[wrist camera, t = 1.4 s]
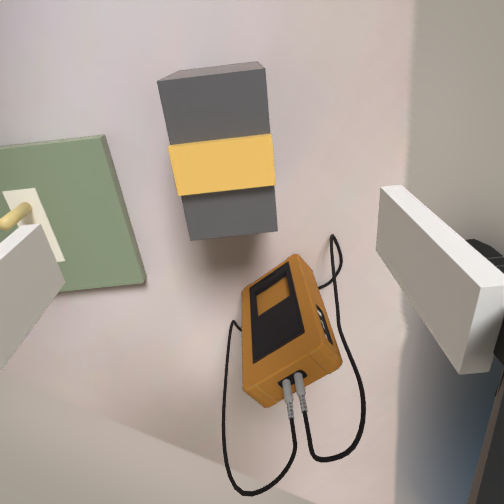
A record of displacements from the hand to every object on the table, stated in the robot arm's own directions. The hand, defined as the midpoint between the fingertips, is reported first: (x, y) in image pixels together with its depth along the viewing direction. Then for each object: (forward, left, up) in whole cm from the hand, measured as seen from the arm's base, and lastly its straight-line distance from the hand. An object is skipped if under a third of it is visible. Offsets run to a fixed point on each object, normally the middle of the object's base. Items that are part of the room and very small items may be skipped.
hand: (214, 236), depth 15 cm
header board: (+6, -18, -18) cm, 26 cm away
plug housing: (0, 0, -18) cm, 19 cm away
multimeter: (+18, +5, -19) cm, 26 cm away
